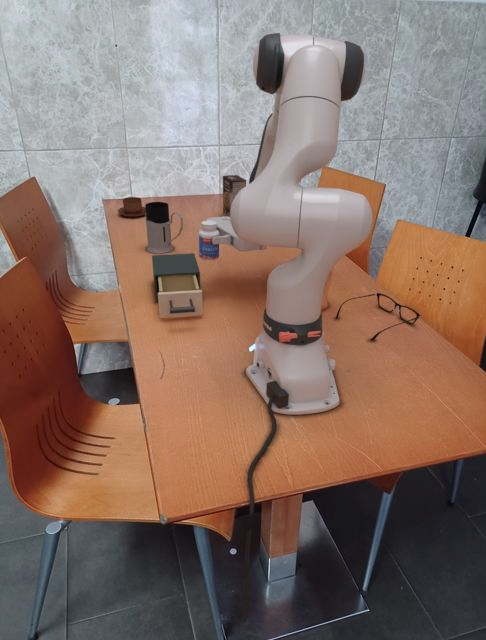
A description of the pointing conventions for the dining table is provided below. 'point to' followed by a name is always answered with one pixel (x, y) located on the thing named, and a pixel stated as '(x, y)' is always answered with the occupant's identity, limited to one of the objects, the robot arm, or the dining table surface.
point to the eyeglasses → (387, 311)
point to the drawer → (179, 296)
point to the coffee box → (231, 191)
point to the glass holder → (159, 227)
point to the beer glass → (326, 290)
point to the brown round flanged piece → (132, 207)
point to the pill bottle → (208, 241)
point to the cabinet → (174, 267)
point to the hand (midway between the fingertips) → (205, 237)
